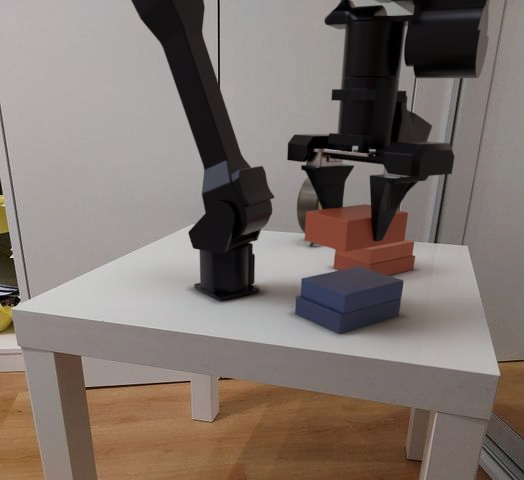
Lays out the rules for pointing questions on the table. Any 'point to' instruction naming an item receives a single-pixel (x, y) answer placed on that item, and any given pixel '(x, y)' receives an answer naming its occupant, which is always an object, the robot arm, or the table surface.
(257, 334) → the table surface
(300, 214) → the alarm clock
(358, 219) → the rust book
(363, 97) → the robot arm
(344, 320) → the navy stack
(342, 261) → the rust stack
